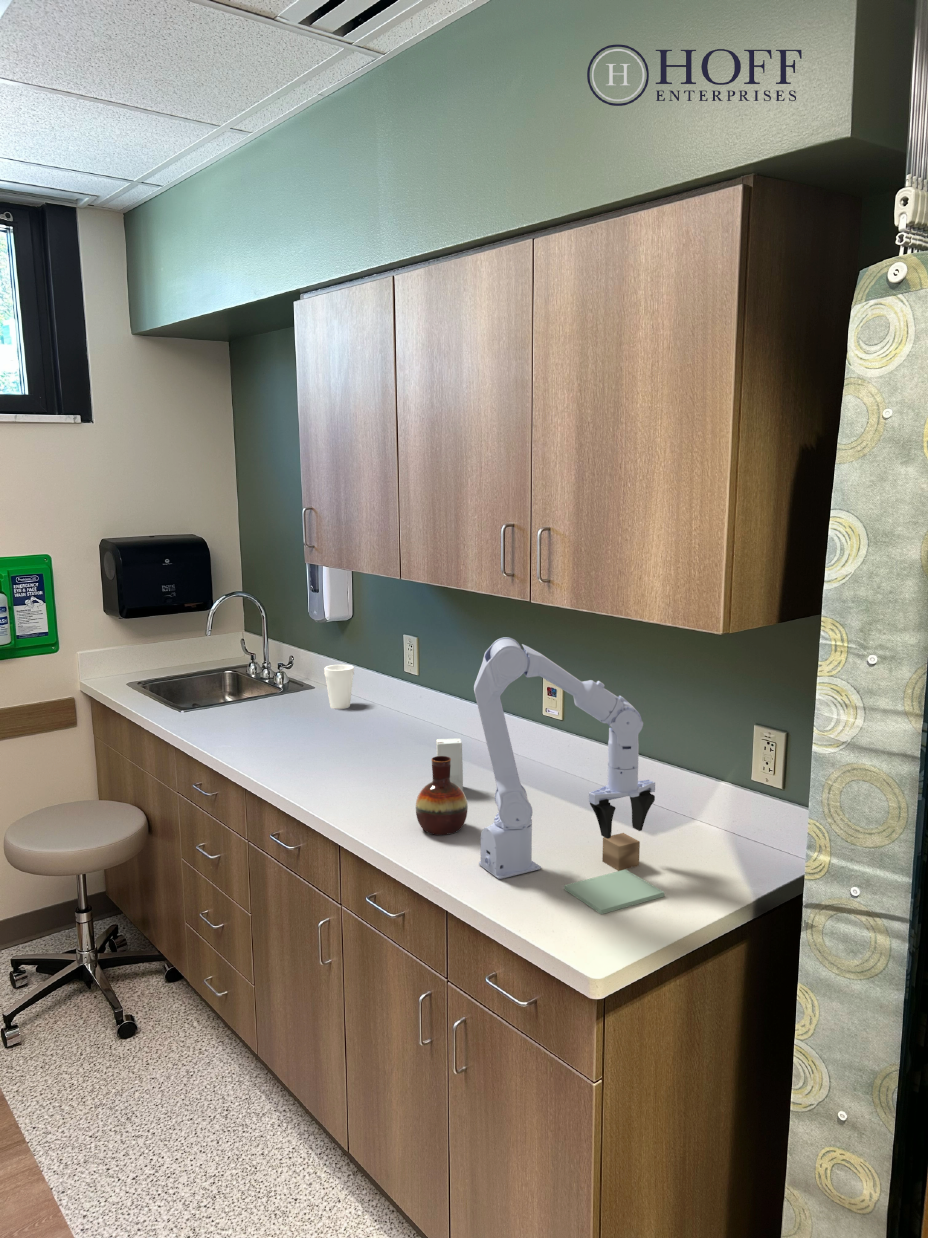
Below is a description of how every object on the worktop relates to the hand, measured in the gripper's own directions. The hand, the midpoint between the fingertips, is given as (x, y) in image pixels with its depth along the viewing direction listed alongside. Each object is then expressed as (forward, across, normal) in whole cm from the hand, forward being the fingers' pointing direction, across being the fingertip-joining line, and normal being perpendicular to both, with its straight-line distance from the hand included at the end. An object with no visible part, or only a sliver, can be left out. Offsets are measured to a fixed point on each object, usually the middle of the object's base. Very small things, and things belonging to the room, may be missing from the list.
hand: (621, 833), depth 178 cm
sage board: (+6, -9, -10) cm, 15 cm away
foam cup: (+6, -3, +142) cm, 142 cm away
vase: (+6, -22, +33) cm, 40 cm away
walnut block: (+6, 0, 0) cm, 6 cm away
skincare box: (+6, -9, +54) cm, 55 cm away
